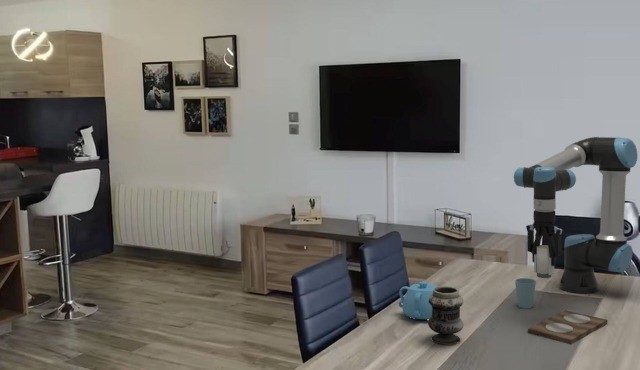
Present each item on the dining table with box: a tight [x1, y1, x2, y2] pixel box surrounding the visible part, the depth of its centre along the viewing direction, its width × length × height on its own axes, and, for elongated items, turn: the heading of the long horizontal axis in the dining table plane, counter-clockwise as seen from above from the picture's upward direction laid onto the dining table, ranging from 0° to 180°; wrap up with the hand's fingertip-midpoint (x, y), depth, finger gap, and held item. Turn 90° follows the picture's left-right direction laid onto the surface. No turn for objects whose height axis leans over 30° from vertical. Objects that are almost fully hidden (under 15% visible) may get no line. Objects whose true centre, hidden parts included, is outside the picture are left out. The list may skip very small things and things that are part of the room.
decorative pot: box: [398, 280, 438, 320], centre depth 252 cm, size 16×16×14 cm
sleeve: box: [536, 244, 552, 279], centre depth 240 cm, size 5×5×11 cm
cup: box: [514, 277, 537, 309], centre depth 260 cm, size 8×8×10 cm
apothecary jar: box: [427, 285, 464, 345], centre depth 227 cm, size 12×12×18 cm
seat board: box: [527, 309, 608, 345], centre depth 235 cm, size 27×16×2 cm, turn 132°
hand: (544, 272), depth 241 cm, fingers closed on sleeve, 5 cm apart
